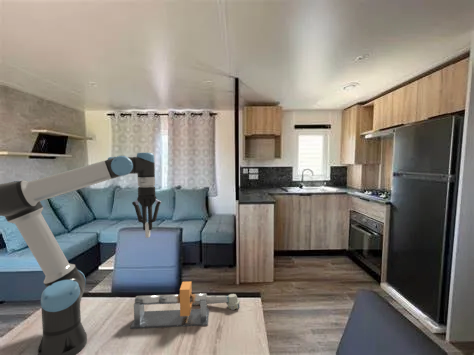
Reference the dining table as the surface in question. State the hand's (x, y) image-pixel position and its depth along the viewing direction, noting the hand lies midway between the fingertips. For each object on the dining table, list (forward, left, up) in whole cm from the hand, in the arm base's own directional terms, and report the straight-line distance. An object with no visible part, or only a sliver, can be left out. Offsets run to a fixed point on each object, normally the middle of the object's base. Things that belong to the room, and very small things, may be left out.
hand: (147, 236), depth 118 cm
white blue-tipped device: (+30, 0, -35) cm, 46 cm away
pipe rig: (+12, -9, -34) cm, 38 cm away
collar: (+18, -9, -31) cm, 37 cm away
